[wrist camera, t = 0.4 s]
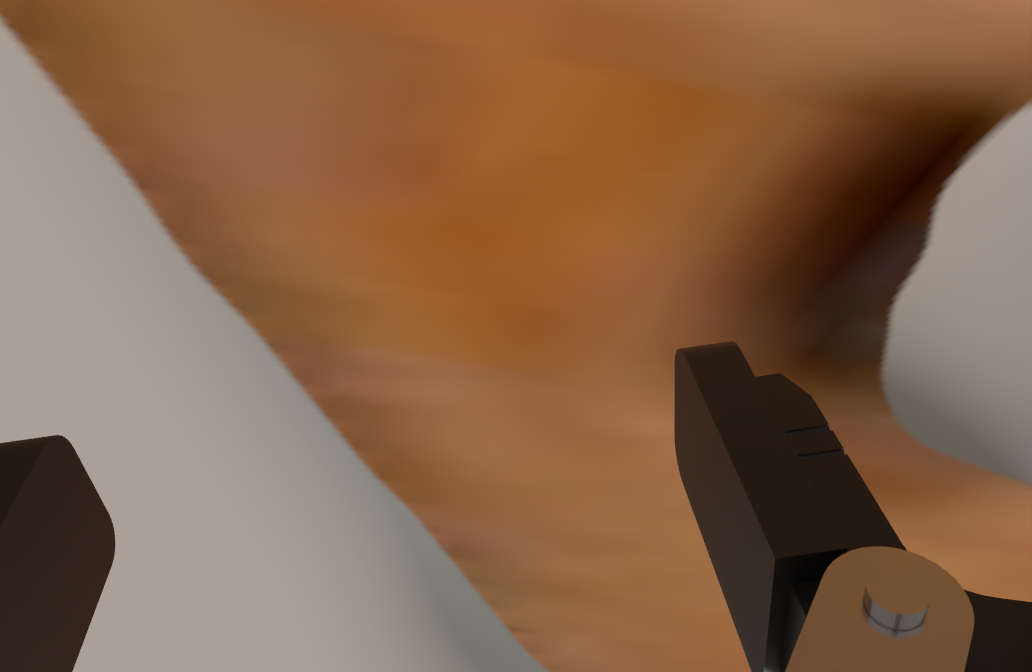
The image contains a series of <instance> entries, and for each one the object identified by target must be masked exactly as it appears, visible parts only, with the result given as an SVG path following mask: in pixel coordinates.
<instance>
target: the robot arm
mask: <svg viewBox="0 0 1032 672" xmlns="http://www.w3.org/2000/svg"><path fill="white" fill-rule="evenodd" d="M675 448H676V456H677V462H678V467H679V471H680V475H681V479H682V482H683V485H684V488H685V490H686V493H687V496H688V499H689V501H690V504H691V507H692V510H693V512H694V515H695V518H696V521H697V523H698V526H699V529H700V531H701V534H702V537H703V540H704V542H705V545H706V548H707V551H708V553H709V556H710V559H711V562H712V564H713V567H714V570H715V573H716V575H717V578H718V581H719V583H720V586H721V589H722V592H723V594H724V597H725V600H726V603H727V605H728V608H729V611H730V614H731V616H732V619H733V622H734V625H735V627H736V630H737V633H738V635H739V638H740V641H741V644H742V646H743V649H744V652H745V655H746V657H747V660H748V663H749V666H750V668H751V671H752V672H1032V602H1026V601H1018V600H1010V599H1002V598H995V597H990V596H984V595H980V594H976V593H973V592H970V591H966V590H964V589H963V588H962V587H961V585H960V584H959V583H958V582H957V581H956V580H955V578H953V577H952V576H951V575H950V574H949V573H948V572H947V571H946V570H944V569H943V568H941V567H940V566H938V565H937V564H936V563H934V562H932V561H930V560H928V559H926V558H925V557H923V556H920V555H917V554H915V553H912V552H909V551H907V550H906V548H905V547H904V546H903V544H902V543H901V541H900V540H899V538H898V536H897V535H896V533H895V531H894V530H893V528H892V527H891V525H890V523H889V522H888V520H887V518H886V517H885V515H884V513H883V512H882V510H881V509H880V507H879V505H878V504H877V502H876V500H875V499H874V497H873V496H872V494H871V492H870V491H869V489H868V487H867V486H866V484H865V483H864V481H863V479H862V478H861V476H860V474H859V473H858V471H857V470H856V468H855V466H854V465H853V463H852V461H851V460H850V458H849V456H848V455H845V454H844V448H843V447H842V445H841V443H840V442H839V440H838V439H837V437H836V435H835V434H834V432H833V430H832V431H830V429H829V424H828V422H827V421H826V419H825V417H824V416H823V414H822V413H821V411H820V409H819V408H818V406H817V404H816V403H815V401H814V399H813V398H812V396H811V395H809V394H808V393H807V392H805V391H804V390H802V389H801V388H800V387H798V386H797V385H796V384H794V383H793V382H791V381H790V380H789V379H787V378H786V377H785V376H783V375H782V374H773V375H766V376H759V377H755V376H754V374H753V372H752V370H751V368H750V366H749V365H748V363H747V361H746V359H745V357H744V355H743V354H742V352H741V350H740V348H739V347H738V345H737V344H736V343H735V342H733V341H731V342H724V343H717V344H710V345H703V346H695V347H688V348H681V349H678V350H677V352H676V355H675ZM114 553H115V534H114V528H113V523H112V520H111V518H110V515H109V513H108V511H107V509H106V508H105V506H104V504H103V502H102V500H101V498H100V496H99V495H98V493H97V491H96V489H95V487H94V485H93V483H92V481H91V479H90V478H89V476H88V474H87V472H86V470H85V468H84V467H83V465H82V463H81V461H80V459H79V457H78V455H77V453H76V451H75V449H74V448H73V446H72V445H71V443H70V442H69V441H68V440H67V439H66V438H65V437H63V436H59V435H55V436H48V437H41V438H34V439H27V440H19V441H12V442H5V443H0V672H72V671H73V668H74V665H75V663H76V660H77V657H78V655H79V652H80V649H81V647H82V644H83V641H84V639H85V636H86V633H87V631H88V628H89V625H90V623H91V620H92V617H93V615H94V611H95V609H96V606H97V603H98V601H99V598H100V596H101V593H102V590H103V588H104V585H105V582H106V579H107V577H108V574H109V572H110V569H111V566H112V563H113V559H114Z"/></svg>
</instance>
